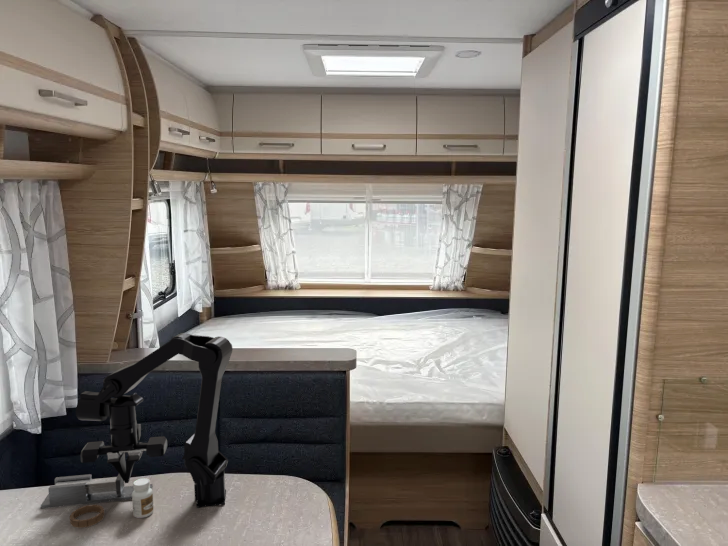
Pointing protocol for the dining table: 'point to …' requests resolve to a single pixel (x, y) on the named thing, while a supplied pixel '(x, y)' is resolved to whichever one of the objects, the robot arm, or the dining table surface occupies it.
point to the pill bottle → (142, 498)
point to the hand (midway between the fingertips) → (127, 482)
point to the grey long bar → (100, 484)
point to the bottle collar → (87, 522)
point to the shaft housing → (81, 493)
